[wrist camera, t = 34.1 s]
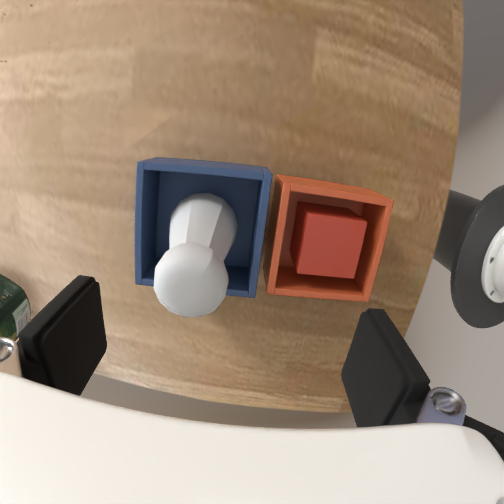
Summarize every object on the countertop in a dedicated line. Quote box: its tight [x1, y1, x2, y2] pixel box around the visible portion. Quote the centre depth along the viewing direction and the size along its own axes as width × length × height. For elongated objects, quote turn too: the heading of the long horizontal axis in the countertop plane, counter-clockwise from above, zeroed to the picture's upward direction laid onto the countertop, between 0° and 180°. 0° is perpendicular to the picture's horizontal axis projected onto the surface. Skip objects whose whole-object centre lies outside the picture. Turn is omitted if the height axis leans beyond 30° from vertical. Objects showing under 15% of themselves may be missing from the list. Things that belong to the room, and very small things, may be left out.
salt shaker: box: [154, 193, 238, 317], centre depth 23 cm, size 6×6×13 cm
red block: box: [289, 201, 367, 279], centre depth 27 cm, size 5×5×5 cm
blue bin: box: [135, 157, 272, 298], centre depth 27 cm, size 10×10×6 cm
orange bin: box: [263, 174, 394, 302], centre depth 27 cm, size 9×9×6 cm
